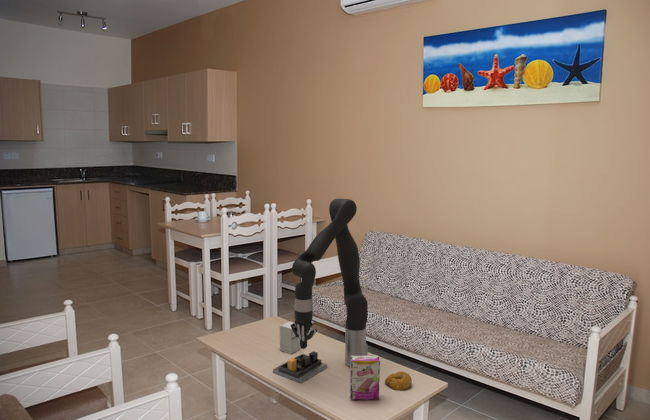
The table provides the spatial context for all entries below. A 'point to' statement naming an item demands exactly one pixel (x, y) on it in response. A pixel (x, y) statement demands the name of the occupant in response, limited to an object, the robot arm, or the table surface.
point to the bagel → (399, 380)
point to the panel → (302, 367)
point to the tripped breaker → (292, 364)
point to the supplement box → (288, 339)
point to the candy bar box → (364, 377)
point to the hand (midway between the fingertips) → (303, 348)
